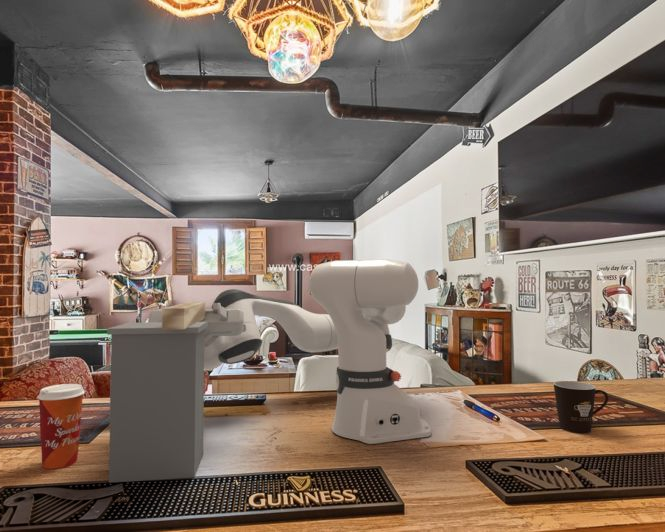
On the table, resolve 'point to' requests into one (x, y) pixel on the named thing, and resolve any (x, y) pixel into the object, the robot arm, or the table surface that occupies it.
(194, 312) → the tan wooden bar
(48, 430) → the paper cup
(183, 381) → the tall grey block
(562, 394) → the coffee mug
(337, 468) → the table surface
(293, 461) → the table surface
